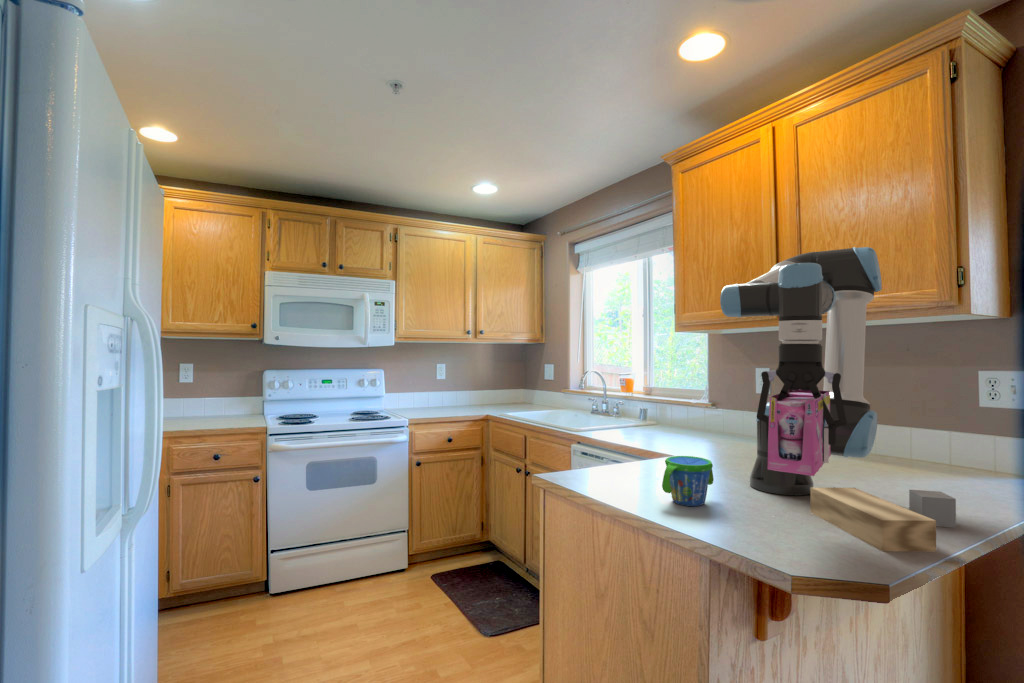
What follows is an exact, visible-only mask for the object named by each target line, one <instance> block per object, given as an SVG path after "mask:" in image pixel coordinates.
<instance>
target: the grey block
mask: <svg viewBox="0 0 1024 683" xmlns="http://www.w3.org/2000/svg"><path fill="white" fill-rule="evenodd" d="M908 493H909V494H908V496H909V498H908V506H909V507H908V508H909V509H908V510H911V511H913V512H916V513H918V514H921V515H923V516H926V517H928V518H931V519H933V520H936V527H943V526H944V527H946V528H947V527H948V528H957V514H956V513H957V505H956V504H957V500H956V498H954V497H953V496H952V495H949V494H947V493H945V492H942V491H939V490H938V491H937V490H935V491H934V490H923V489H922V490H921V489H909V490H908ZM944 527H943V528H944Z"/></svg>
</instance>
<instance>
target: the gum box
mask: <svg viewBox="0 0 1024 683" xmlns="http://www.w3.org/2000/svg"><path fill="white" fill-rule="evenodd" d="M819 391H820V393H821V395H822V396H820V397H819V398H817V399H815V398H814V396H813V394H812V392H811V390H809V391H804V390H800V389H799V390H789V392H788V394H787V396H786V398H785V399H782V400H781V401H780V400H778V398H779V394H780V392H779V393H777V394H774V395H771V396H769V400H768V402H769V433H768V470H774V471H781V472H788V473H795V474H803V475H809V476H811V477H814V476H815V475H816V474H817V473H818V472H819V471H820V469H821V468H822V467H823V465H824V464H825V463H824V427H825V426H826V427H828V424H827V422H826V420H825V418H824V416H823V400H824V401H825V403H826V405H827V407H828V409H829V411H830V391H823V390H819ZM822 398H823V400H822ZM831 456H832V455H831V453H830V445H828V459H829V458H830V457H831Z"/></svg>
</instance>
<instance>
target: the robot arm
mask: <svg viewBox="0 0 1024 683" xmlns="http://www.w3.org/2000/svg"><path fill="white" fill-rule="evenodd" d="M882 285H883V283H882V274H881V269H880V263H879V260H878V255H877V252H876V250H875V249H874V248H872V247H869V246H863V247H854V246H853V247H851V248H841V249H839V248H838V249H832V250H821V251H811V252H805V253H800V254H798V255H795V256H792V257H789V258H787V259H784V260H782V261H780V262H778V263H776V264H774V265H773V266H772V267H771V268H770V270H769V271H768V272H766V273H764V274H762V275H759V276H757V277H756V278H754V279H752V280H750V281H748V282H746V283H739V284H738V283H735V284H729V285H725V286H723V288H722V290H721V293H720V297H719V299H720V300H719V301H720V308H721V311H722V314H723V315H724V316H725V317H728V318H746V317H775V316H776V317H778V341H780V342H781V343H780V344H779V345H778V366H777V368H776V369H774V370H769V371H768V370H764V371H762V372H761V379H762V387H761V392H760V397H759V401H758V402H759V403H758V407H757V413H756V459H755V461H754V464H753V467H752V470H751V472H750V475H749V486H750V487H751V488H753V489H754V490H758V491H762V492H766V493H771V494H774V495H775V494H776V495H784V496H807V495H810V487H814V486H815V485H814V481H813V478H812V477H813V476H809V475H803V474H795V473H788V472H781V471H774V470H768V433H769V400H768V398H769V393H770V389H771V382H773V381H774V380H775V377H776V376H777V377H778V379H779V380H780V381H781V382H782V384H783V386H782V388H781V390H780V392H779V393H780V394H779V393H778V394H779V398H778V400H780V401H781V400H782V399H785V398H786V396H787V394H788V392H789V390H804V391H809V390H811V392H812V394H813V396H814V398H815V399H817V398H819V397H820V396H822V395H821V393H820V391H821V390H820V388H819V387H818V384H819V383H820V382H821V381H822V379H823V389H822V391H830V411H829V409H828V407H827V405H826V403H825V401H824V400H823V398H822V400H823V416H824V418H825V420H826V422H827V424H828V427H826V426H825V427H824V464H829V458H828V445H830V453H831V455H830V456H838V457H844V458H850V457H851V458H860V459H861V458H862V459H863V458H866V457H868V456H869V455H870V453H871V451H872V449H873V447H874V444H875V439H876V435H877V428H878V413H877V412H876V411H875V410H872V409H871V403H870V402H869V401H868V400H867V399H866V398H865V397H864V384H865V383H864V382H865V381H864V380H865V379H864V377H865V352H866V329H867V328H866V327H867V325H866V324H867V305H868V304H869V303H871V302H872V301H873V300H874V299H875V293H877V292H880V291H882V288H883V287H882ZM824 314H826V330H825V331H826V335H825V352H824V367H823V346H822V344H820V343H819V342H821V341H823V315H824Z"/></svg>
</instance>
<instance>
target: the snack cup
mask: <svg viewBox="0 0 1024 683" xmlns="http://www.w3.org/2000/svg"><path fill="white" fill-rule="evenodd" d="M664 462H665V465H666V467H665V470H664V472H663V477H662V478H663V479H662V481H661V482H662V484H661V488H662V490H663V492H664V493H667V494H671V499H672V501H673V502H674V503H675V504H678V505H681V506H688V507H699V506H701V505H703V504H704V505H705V502H706V499H707V493H708V487H709V485H713V483H714V474H713V472H714V471H713V466H714V465H713V463H712V461H711V460H709V459H707V458H704V457H700V456H699V457H698V456H693V455H675V456H668V457H666V458H665V460H664Z"/></svg>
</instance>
